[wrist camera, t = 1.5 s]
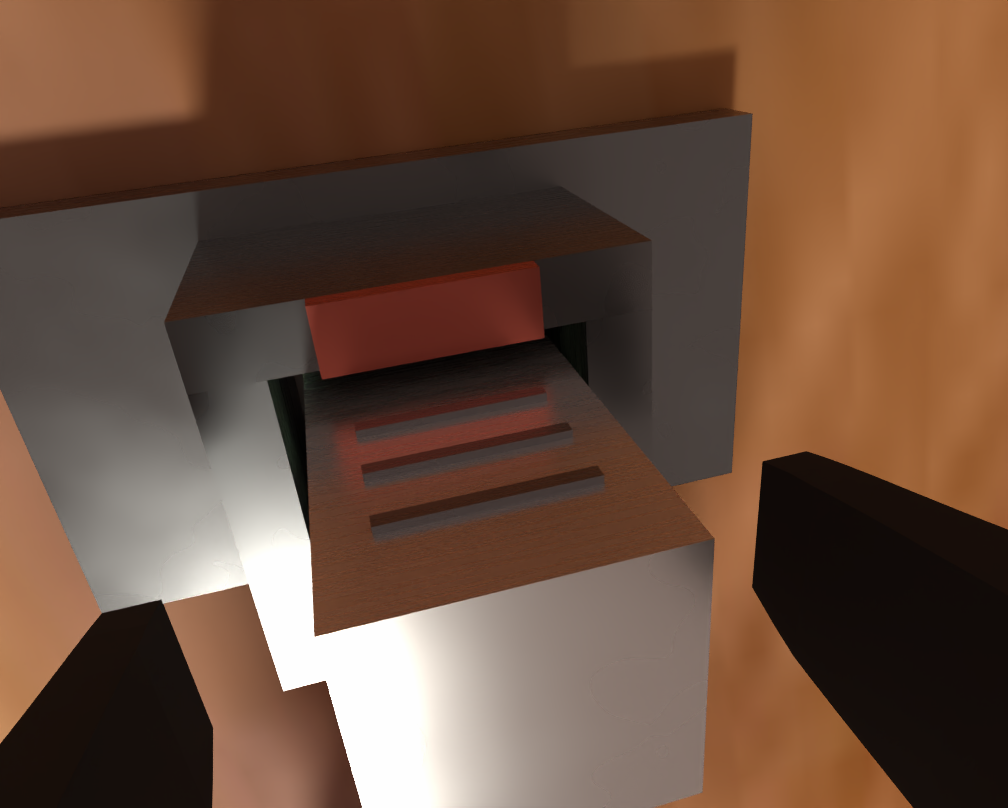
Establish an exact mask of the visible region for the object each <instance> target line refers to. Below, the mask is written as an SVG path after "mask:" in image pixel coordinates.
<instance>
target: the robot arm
mask: <svg viewBox="0 0 1008 808" xmlns="http://www.w3.org/2000/svg"><path fill="white" fill-rule="evenodd" d="M752 588H753V589H754V591H755V593H756V594H757V596H758V598H759V600H760V601H761V603H762V605H763V607H764V608H765V610H766V612H767V613H768V615H769V617H770V619H771V620H772V622H773V624H774V626H775V627H776V629H777V630H778V632H779V634H780V635H781V637H782V638H783V640H784V641H785V643H786V645H787V646H788V648H789V649H790V651H791V653H792V654H793V656H794V657H795V659H796V660H797V661H798V662H799V664H800V665H801V666H802V668H803V669H804V670H805V672H806V673H807V674H808V676H809V677H810V678H811V679H812V681H813V682H814V683H815V684H816V686H817V687H818V688H819V690H820V691H821V692H822V693H823V695H824V696H825V697H826V699H827V700H828V701H829V702H830V704H831V705H832V706H833V707H834V709H835V710H836V711H837V713H838V714H839V715H840V716H841V718H842V719H843V720H844V721H845V723H846V724H847V725H848V726H849V728H850V729H851V730H852V731H853V733H854V734H855V735H856V736H857V738H858V739H859V740H860V741H861V743H862V744H863V745H864V746H865V748H866V749H867V750H868V751H869V753H870V754H871V755H872V756H873V758H874V759H875V760H876V761H877V763H878V764H879V765H880V767H881V768H882V769H883V770H884V772H885V773H886V774H887V775H888V777H889V778H890V779H891V780H892V782H893V783H894V784H895V785H896V787H897V788H898V789H899V790H900V792H901V793H902V794H903V795H904V797H905V798H906V799H907V800H908V802H909V803H910V804H911V805H912V807H913V808H1008V530H1007V529H1005V528H1002V527H1000V526H997V525H995V524H992V523H989V522H987V521H984V520H982V519H979V518H977V517H974V516H972V515H969V514H967V513H964V512H962V511H959V510H957V509H954V508H952V507H949V506H947V505H944V504H942V503H939V502H937V501H934V500H932V499H929V498H927V497H925V496H922V495H920V494H917V493H915V492H912V491H910V490H907V489H905V488H902V487H900V486H897V485H895V484H893V483H890V482H888V481H885V480H883V479H880V478H878V477H875V476H873V475H870V474H868V473H865V472H863V471H860V470H857V469H855V468H852V467H850V466H847V465H844V464H842V463H839V462H836V461H834V460H831V459H828V458H825V457H822V456H819V455H816V454H813V453H810V452H807V451H806V452H802V453H797V454H793V455H789V456H784V457H780V458H776V459H771V460H767V461H763V464H762V476H761V488H760V500H759V512H758V524H757V536H756V548H755V560H754V572H753V584H752ZM212 790H213V727H212V724H211V722H210V719H209V717H208V714H207V712H206V709H205V707H204V704H203V702H202V699H201V697H200V694H199V692H198V689H197V687H196V684H195V682H194V679H193V677H192V674H191V672H190V669H189V667H188V664H187V662H186V659H185V657H184V654H183V652H182V649H181V647H180V644H179V642H178V639H177V637H176V635H175V632H174V630H173V627H172V625H171V622H170V620H169V617H168V615H167V612H166V610H165V607H164V605H163V602H162V600H157V601H152V602H148V603H143V604H139V605H135V606H130V607H126V608H122V609H117V610H113V611H109V612H104V613H102V614H101V615H100V616H99V618H98V619H97V620H96V621H95V622H94V624H93V625H92V626H91V627H90V629H89V630H88V631H87V632H86V634H85V635H84V636H83V638H82V639H81V640H80V642H79V643H78V644H77V645H76V647H75V648H74V649H73V651H72V652H71V653H70V655H69V656H68V657H67V658H66V660H65V661H64V662H63V664H62V665H61V666H60V668H59V669H58V670H57V672H56V673H55V674H54V675H53V677H52V678H51V679H50V681H49V682H48V683H47V685H46V686H45V687H44V689H43V690H42V691H41V692H40V694H39V695H38V696H37V698H36V699H35V700H34V702H33V703H32V704H31V705H30V707H29V708H28V709H27V711H26V712H25V713H24V714H23V716H22V717H21V718H20V720H19V721H18V722H17V723H16V725H15V726H14V727H13V728H12V730H11V731H10V732H9V734H8V735H7V736H6V737H5V739H4V740H3V741H2V742H1V744H0V808H212Z"/></svg>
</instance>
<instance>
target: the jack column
mask: <svg viewBox="0 0 1008 808" xmlns="http://www.w3.org/2000/svg"><path fill="white" fill-rule="evenodd" d="M544 336H545V338H541V339H536V340H531V341H525V342H520V343H515V344H509V345H504V346H499V347H493V348H488V349H483V350H477V351H472V352H467V353H461V354H456V355H451V356H445V357H440V358H435V359H429V360H424V361H419V362H413V363H408V364H403V365H397V366H392V367H387V368H381V369H376V370H371V371H365V372H360V373H354V374H349V375H344V376H338V377H333V378H328V379H322V378H321V374H320V371H315V372H310V373H304V374H303V378H304V400H305V425H306V449H307V474H308V498H309V523H310V547H311V572H312V597H313V621H314V639H315V642H316V646H317V649H318V653H319V656H320V660H321V663H322V667H323V670H324V674H325V677H326V681H327V684H328V688H329V691H330V695H331V698H332V702H333V705H334V709H335V712H336V716H337V719H338V723H339V727H340V730H341V734H342V737H343V741H344V744H345V748H346V751H347V755H348V758H349V762H350V765H351V769H352V772H353V776H354V779H355V783H356V786H357V790H358V793H359V797H360V800H361V804H362V807H363V808H654V807H657V806H660V805H663V804H667V803H670V802H673V801H676V800H679V799H683V798H686V797H689V796H692V795H696V794H699V793H702V789H703V768H704V748H705V727H706V706H707V685H708V664H709V643H710V622H711V601H712V580H713V560H714V537H713V536H712V535H711V534H710V533H709V531H708V530H707V529H706V528H705V527H704V525H703V524H702V523H701V522H700V520H699V519H698V518H697V517H696V516H695V514H694V513H693V512H692V511H691V510H690V508H689V507H688V506H687V505H686V504H685V502H684V501H683V500H682V499H681V498H680V496H679V495H678V494H677V493H676V491H675V490H674V489H673V488H672V487H671V485H670V484H669V483H668V482H667V481H666V479H665V478H664V477H663V476H662V475H661V473H660V472H659V471H658V470H657V468H656V467H655V466H654V465H653V464H652V462H651V461H650V460H649V459H648V458H647V456H646V455H645V454H644V453H643V452H642V450H641V449H640V448H639V447H638V446H637V444H636V443H635V442H634V441H633V439H632V438H631V437H630V436H629V435H628V433H627V432H626V431H625V430H624V429H623V427H622V426H621V425H620V424H619V423H618V421H617V420H616V419H615V418H614V416H613V415H612V414H611V413H610V412H609V410H608V409H607V408H606V407H605V406H604V404H603V403H602V402H601V401H600V400H599V398H598V397H597V396H596V395H595V394H594V392H593V391H592V390H591V389H590V387H589V386H588V385H587V384H586V383H585V381H584V380H583V379H582V378H581V377H580V375H579V374H578V373H577V372H576V371H575V369H574V368H573V367H572V366H571V364H570V363H569V362H568V361H567V360H566V358H565V357H564V356H563V355H562V354H561V352H560V351H559V350H558V349H557V348H556V346H555V345H554V344H553V343H552V342H551V340H550V339H549V338H548V337H547V335H546V334H545V333H544Z"/></svg>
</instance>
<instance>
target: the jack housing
mask: <svg viewBox="0 0 1008 808" xmlns="http://www.w3.org/2000/svg"><path fill="white" fill-rule="evenodd" d="M751 130H752V113H747V112H741V111H736V110H731V109H726V108H725V109H718V110H711V111H704V112H696V113H689V114H682V115H675V116H667V117H660V118H653V119H645V120H638V121H631V122H624V123H616V124H609V125H602V126H595V127H587V128H580V129H573V130H565V131H558V132H551V133H544V134H536V135H529V136H522V137H514V138H507V139H500V140H493V141H485V142H478V143H471V144H464V145H456V146H449V147H442V148H434V149H427V150H420V151H413V152H405V153H398V154H391V155H384V156H376V157H369V158H362V159H354V160H347V161H340V162H333V163H325V164H318V165H311V166H304V167H296V168H289V169H282V170H274V171H267V172H260V173H253V174H245V175H238V176H231V177H224V178H216V179H209V180H202V181H194V182H187V183H180V184H173V185H165V186H158V187H151V188H144V189H136V190H129V191H122V192H114V193H107V194H100V195H93V196H85V197H78V198H71V199H63V200H56V201H49V202H42V203H34V204H27V205H20V206H13V207H5V208H0V390H1V392H2V394H3V396H4V398H5V401H6V403H7V405H8V407H9V409H10V412H11V414H12V416H13V418H14V420H15V423H16V425H17V427H18V429H19V431H20V434H21V436H22V438H23V440H24V442H25V445H26V447H27V449H28V451H29V454H30V456H31V458H32V460H33V462H34V465H35V467H36V469H37V471H38V473H39V476H40V478H41V480H42V482H43V484H44V487H45V489H46V491H47V493H48V495H49V498H50V500H51V502H52V504H53V506H54V509H55V511H56V513H57V515H58V517H59V520H60V522H61V524H62V526H63V529H64V531H65V533H66V535H67V537H68V540H69V542H70V544H71V546H72V548H73V551H74V553H75V555H76V557H77V559H78V562H79V564H80V566H81V568H82V570H83V573H84V575H85V577H86V579H87V581H88V584H89V586H90V588H91V590H92V593H93V595H94V597H95V599H96V601H97V604H98V606H99V608H100V610H101V612H102V613H104V612H109V611H113V610H117V609H122V608H126V607H130V606H135V605H139V604H143V603H148V602H152V601H157V600H162V602H163V604H164V603H168V602H173V601H177V600H181V599H186V598H190V597H194V596H199V595H203V594H207V593H212V592H216V591H220V590H225V589H229V588H233V587H238V586H242V585H246V584H249V587H250V590H251V593H252V596H253V599H254V602H255V605H256V608H257V611H258V614H259V617H260V620H261V624H262V627H263V630H264V633H265V636H266V639H267V642H268V645H269V648H270V651H271V654H272V657H273V661H274V664H275V667H276V670H277V673H278V676H279V679H280V682H281V685H282V688H283V691H286V690H289V689H293V688H297V687H301V686H305V685H309V684H313V683H317V682H321V681H324V680H326V677H325V674H324V670H323V667H322V663H321V660H320V656H319V653H318V649H317V646H316V642H315V639H314V621H313V597H312V572H311V547H310V523H309V498H308V474H307V449H306V425H305V400H304V378H303V374H304V373H310V372H315V371H320V374H321V378H322V379H328V378H333V377H338V376H344V375H349V374H354V373H360V372H365V371H371V370H376V369H381V368H387V367H392V366H397V365H403V364H408V363H413V362H419V361H424V360H429V359H435V358H440V357H445V356H451V355H456V354H461V353H467V352H472V351H477V350H483V349H488V348H493V347H499V346H504V345H509V344H515V343H520V342H525V341H531V340H536V339H541V338H545V336H544V333H545V334H546V335H547V337H548V338H549V339H550V340H551V342H552V343H553V344H554V345H555V346H556V348H557V349H558V350H559V351H560V352H561V354H562V355H563V356H564V357H565V358H566V360H567V361H568V362H569V363H570V364H571V366H572V367H573V368H574V369H575V371H576V372H577V373H578V374H579V375H580V377H581V378H582V379H583V380H584V381H585V383H586V384H587V385H588V386H589V387H590V389H591V390H592V391H593V392H594V394H595V395H596V396H597V397H598V398H599V400H600V401H601V402H602V403H603V404H604V406H605V407H606V408H607V409H608V410H609V412H610V413H611V414H612V415H613V416H614V418H615V419H616V420H617V421H618V423H619V424H620V425H621V426H622V427H623V429H624V430H625V431H626V432H627V433H628V435H629V436H630V437H631V438H632V439H633V441H634V442H635V443H636V444H637V446H638V447H639V448H640V449H641V450H642V452H643V453H644V454H645V455H646V456H647V458H648V459H649V460H650V461H651V462H652V464H653V465H654V466H655V467H656V468H657V470H658V471H659V472H660V473H661V475H662V476H663V477H664V478H665V479H666V481H667V482H668V483H669V484H670V485H671V486H675V485H680V484H684V483H688V482H693V481H697V480H701V479H706V478H710V477H714V476H719V475H723V474H727V473H732V457H733V440H734V423H735V405H736V388H737V371H738V354H739V337H740V319H741V302H742V285H743V268H744V251H745V233H746V216H747V199H748V182H749V165H750V147H751Z"/></svg>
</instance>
